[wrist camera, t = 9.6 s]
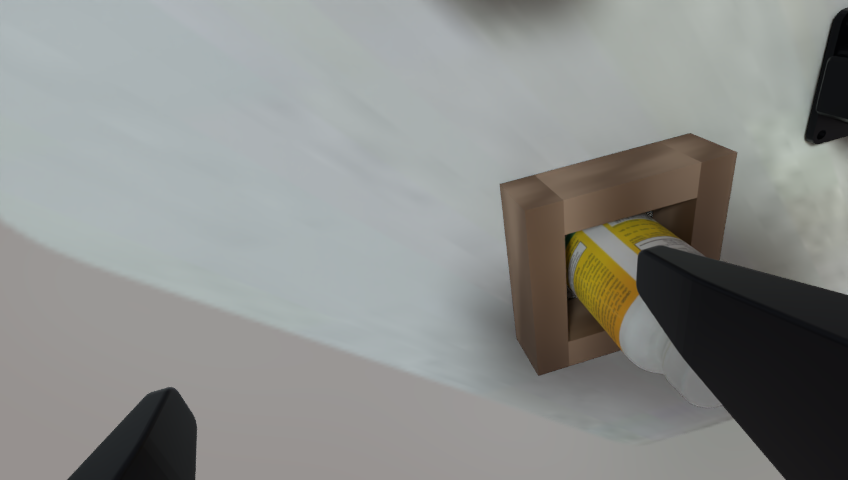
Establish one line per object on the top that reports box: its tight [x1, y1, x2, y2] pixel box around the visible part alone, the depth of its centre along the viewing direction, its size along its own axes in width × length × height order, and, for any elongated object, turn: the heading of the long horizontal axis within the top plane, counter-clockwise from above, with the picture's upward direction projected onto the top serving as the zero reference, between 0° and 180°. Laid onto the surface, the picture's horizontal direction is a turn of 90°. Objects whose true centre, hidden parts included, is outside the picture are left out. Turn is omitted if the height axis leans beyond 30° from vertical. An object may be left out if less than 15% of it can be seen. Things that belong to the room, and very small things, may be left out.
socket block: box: [500, 133, 737, 376], centre depth 25 cm, size 10×10×3 cm
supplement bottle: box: [565, 213, 723, 408], centre depth 22 cm, size 5×5×10 cm
